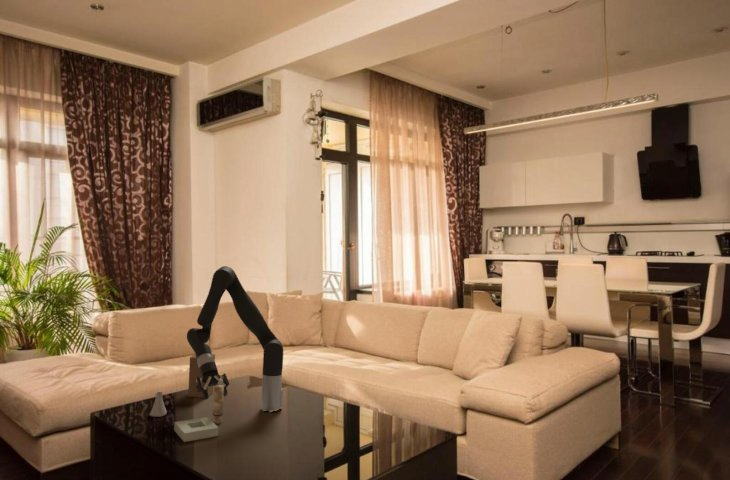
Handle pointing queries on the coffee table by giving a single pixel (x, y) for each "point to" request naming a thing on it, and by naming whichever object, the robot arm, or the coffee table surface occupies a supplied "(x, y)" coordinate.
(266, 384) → the robot arm
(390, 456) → the coffee table surface
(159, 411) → the flask
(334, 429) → the coffee table surface
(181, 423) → the white flat square block
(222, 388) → the peg
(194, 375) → the wooden block
